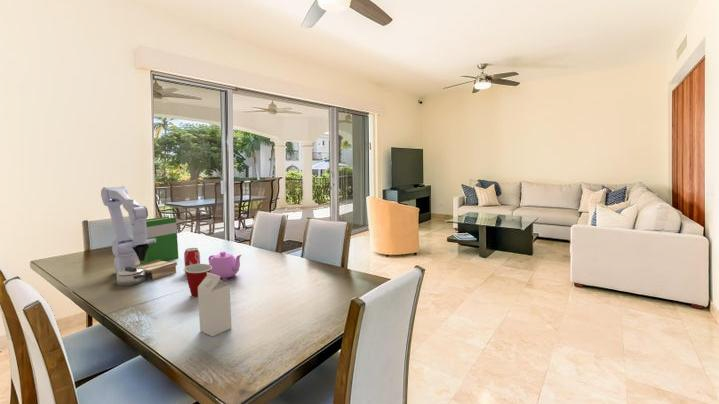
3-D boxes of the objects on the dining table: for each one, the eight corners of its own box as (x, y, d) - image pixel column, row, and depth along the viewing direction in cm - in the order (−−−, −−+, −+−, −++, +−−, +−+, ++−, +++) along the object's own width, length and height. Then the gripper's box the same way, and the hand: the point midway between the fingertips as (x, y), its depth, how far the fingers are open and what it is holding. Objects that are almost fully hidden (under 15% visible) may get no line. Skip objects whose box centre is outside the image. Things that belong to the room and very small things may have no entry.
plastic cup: (201, 300, 140) (199, 271, 139) (179, 298, 143) (177, 269, 142) (219, 291, 151) (217, 264, 149) (198, 288, 154) (196, 262, 152)
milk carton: (219, 323, 121) (216, 269, 119) (231, 328, 117) (229, 273, 115) (199, 331, 115) (196, 275, 113) (212, 337, 111) (209, 279, 109)
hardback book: (170, 256, 207) (168, 216, 205) (178, 258, 204) (175, 217, 201) (139, 263, 192) (136, 220, 189) (147, 265, 188) (144, 221, 186)
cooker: (109, 283, 161) (108, 273, 161) (133, 276, 171) (132, 267, 170) (129, 288, 155) (128, 278, 154) (153, 280, 165) (152, 271, 164)
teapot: (252, 275, 172) (251, 250, 171) (232, 284, 159) (231, 257, 158) (219, 271, 179) (218, 247, 178) (197, 279, 166) (196, 254, 164)
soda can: (194, 275, 173) (193, 251, 171) (182, 274, 174) (180, 250, 173) (203, 270, 180) (202, 247, 178) (191, 269, 181) (190, 247, 180)
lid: (111, 273, 160) (111, 269, 160) (135, 267, 169) (134, 263, 169) (126, 276, 155) (126, 272, 155) (149, 270, 165) (149, 266, 165)
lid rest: (135, 276, 171) (134, 266, 171) (160, 268, 183) (159, 259, 182) (153, 279, 166) (152, 269, 165) (177, 272, 177) (177, 262, 177)
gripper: (129, 236, 157) (131, 265, 159) (159, 230, 170) (161, 257, 172) (119, 234, 160) (122, 263, 162) (150, 229, 173) (152, 255, 175)
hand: (141, 260), depth 167 cm, fingers closed
